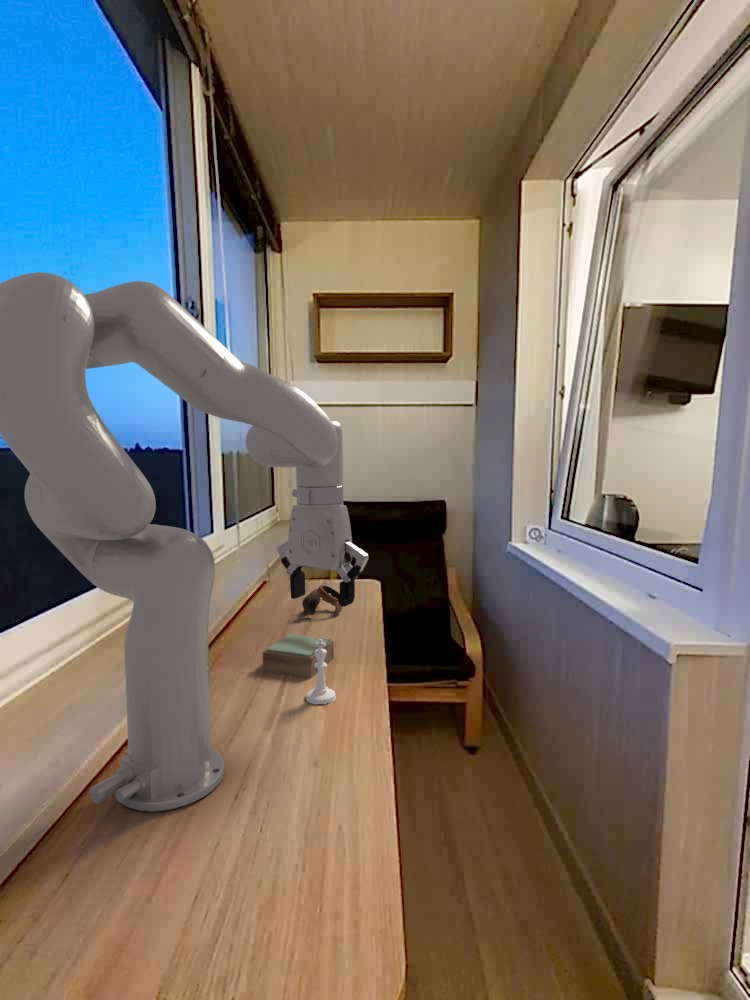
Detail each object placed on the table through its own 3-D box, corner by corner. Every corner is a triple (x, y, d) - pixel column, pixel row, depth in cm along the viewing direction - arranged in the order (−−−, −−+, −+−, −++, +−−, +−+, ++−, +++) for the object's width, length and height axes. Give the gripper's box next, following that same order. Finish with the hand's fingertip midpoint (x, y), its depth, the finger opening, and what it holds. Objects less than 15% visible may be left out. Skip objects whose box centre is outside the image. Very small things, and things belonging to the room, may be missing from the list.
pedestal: (311, 677, 98) (311, 656, 98) (263, 670, 102) (262, 649, 101) (333, 658, 108) (333, 638, 107) (288, 652, 111) (288, 633, 111)
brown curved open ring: (312, 608, 145) (328, 582, 144) (337, 629, 140) (353, 603, 140) (286, 608, 134) (302, 580, 134) (312, 630, 130) (329, 602, 129)
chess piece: (331, 706, 87) (330, 645, 86) (301, 703, 88) (301, 643, 87) (339, 693, 92) (338, 635, 91) (311, 690, 93) (310, 633, 92)
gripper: (263, 497, 88) (266, 599, 90) (353, 501, 80) (355, 614, 82) (291, 493, 95) (293, 589, 97) (378, 497, 87) (379, 601, 88)
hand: (321, 600), depth 89 cm, fingers open, 9 cm apart
